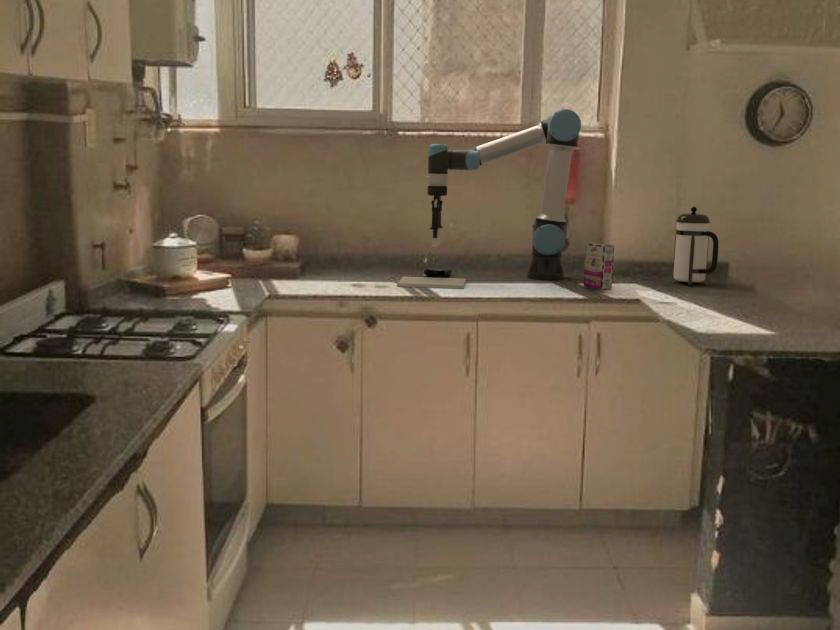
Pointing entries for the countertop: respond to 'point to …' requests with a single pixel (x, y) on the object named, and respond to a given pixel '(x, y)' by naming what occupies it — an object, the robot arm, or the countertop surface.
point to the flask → (437, 272)
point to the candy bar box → (598, 266)
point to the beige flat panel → (432, 282)
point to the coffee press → (693, 248)
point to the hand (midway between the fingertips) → (435, 245)
